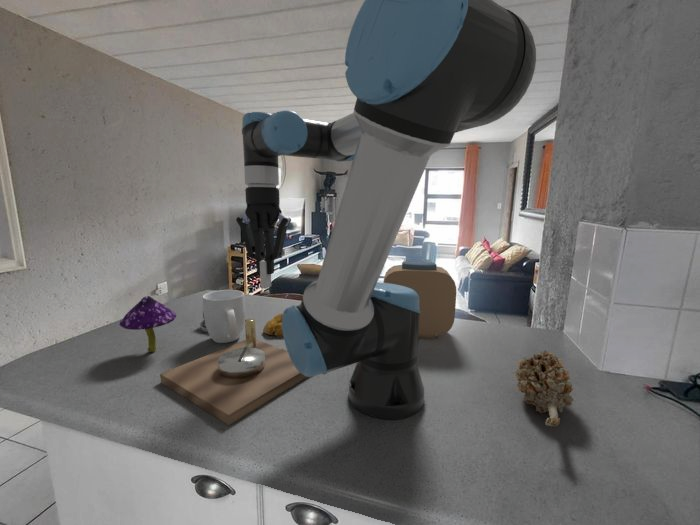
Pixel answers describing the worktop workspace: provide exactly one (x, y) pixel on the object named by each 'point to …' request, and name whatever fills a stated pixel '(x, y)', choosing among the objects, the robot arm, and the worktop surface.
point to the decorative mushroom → (148, 318)
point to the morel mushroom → (545, 384)
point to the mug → (224, 314)
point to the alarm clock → (428, 294)
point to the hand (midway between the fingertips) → (266, 286)
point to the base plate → (233, 382)
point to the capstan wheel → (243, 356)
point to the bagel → (274, 326)
